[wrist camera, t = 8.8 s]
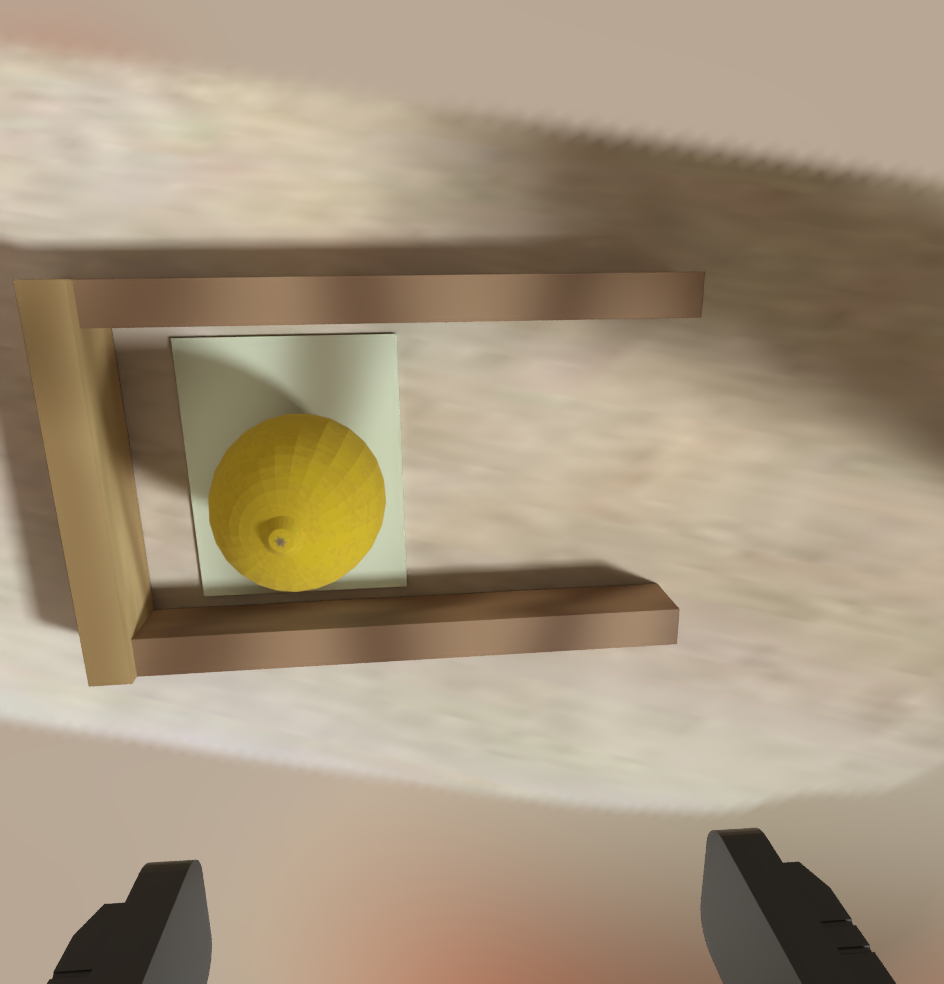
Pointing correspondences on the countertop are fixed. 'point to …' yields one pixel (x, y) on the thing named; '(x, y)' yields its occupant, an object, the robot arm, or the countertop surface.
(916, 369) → the countertop surface
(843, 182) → the countertop surface
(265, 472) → the lemon
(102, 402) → the brown wooden u-shaped frame
